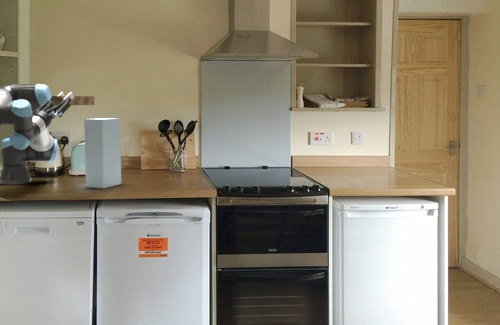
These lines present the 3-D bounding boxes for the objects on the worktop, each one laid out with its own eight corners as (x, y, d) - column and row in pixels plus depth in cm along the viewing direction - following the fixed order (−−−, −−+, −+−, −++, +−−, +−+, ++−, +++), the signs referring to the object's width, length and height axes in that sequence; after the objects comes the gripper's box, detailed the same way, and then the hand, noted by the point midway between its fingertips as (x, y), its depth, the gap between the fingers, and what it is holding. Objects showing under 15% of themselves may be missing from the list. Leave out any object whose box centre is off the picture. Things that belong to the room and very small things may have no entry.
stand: (103, 188, 279) (102, 119, 276) (85, 187, 282) (84, 119, 279) (121, 183, 294) (120, 118, 291) (104, 182, 298) (102, 118, 294)
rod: (59, 105, 249) (59, 96, 249) (51, 105, 251) (51, 96, 250) (94, 104, 274) (94, 96, 273) (86, 104, 275) (86, 96, 275)
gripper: (24, 129, 245) (54, 101, 263) (58, 130, 239) (86, 102, 257) (17, 114, 240) (48, 87, 258) (52, 115, 235) (81, 87, 253)
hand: (67, 94), depth 258 cm, fingers closed on rod, 4 cm apart
